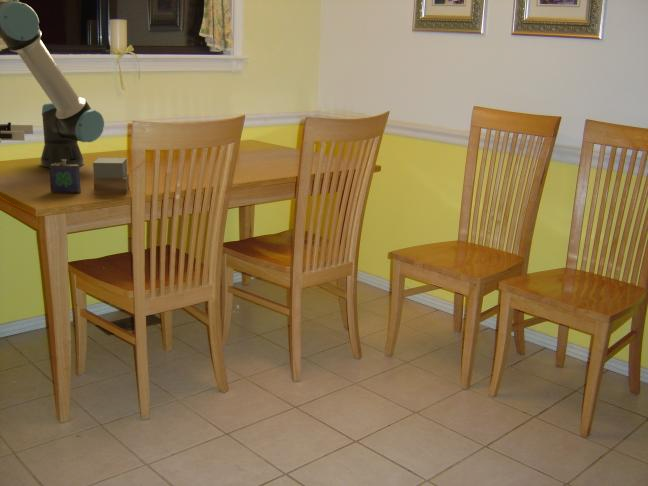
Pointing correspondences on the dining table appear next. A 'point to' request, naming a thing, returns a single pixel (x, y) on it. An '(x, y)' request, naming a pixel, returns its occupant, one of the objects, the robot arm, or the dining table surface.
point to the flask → (64, 178)
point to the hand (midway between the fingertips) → (28, 132)
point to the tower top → (110, 168)
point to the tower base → (111, 185)
